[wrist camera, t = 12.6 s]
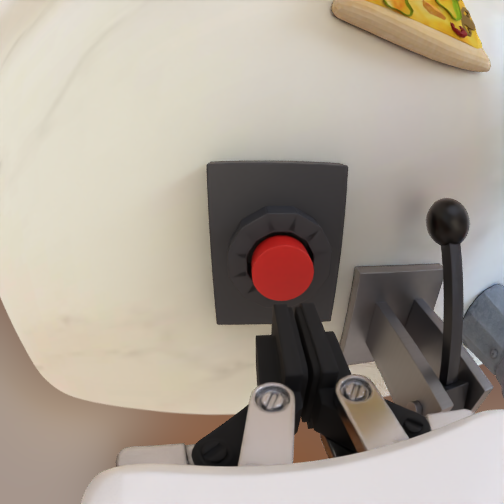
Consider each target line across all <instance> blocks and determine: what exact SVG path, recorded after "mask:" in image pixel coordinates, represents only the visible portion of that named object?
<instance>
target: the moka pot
mask: <svg viewBox="0 0 504 504" xmlns="http://www.w3.org/2000/svg"><path fill="white" fill-rule="evenodd" d="M462 341H463V343H464V344H465V346H466V347H467V348H468V349H469V350H470V351H471V352H473V353H474V354H475V356H476V357H477V358H478V359H479V360H480V361H481V362H482V363H483V364H484V365H485V366H486V367H487V368H488V369H489V370H490V371H491V372H492V373H493V374H494V375H496V378H497V380H498V382H499V383H500V385H501V386H502V394H503V397H504V286H503V285H500V284H497V285H494V286H492V287H490V288H488V289H486V290H485V291H484V292H483V293H482V294H481V295H479V297H478V298H477V299H476V300H475V301H474V302H473V304H472V305H471V306H470V308H469V309H468V311H467V313H466V315H465V317H464V320H463V331H462Z"/></svg>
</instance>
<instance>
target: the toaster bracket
mask: <svg viewBox="0 0 504 504" xmlns="http://www.w3.org/2000/svg"><path fill="white" fill-rule="evenodd" d="M442 281H443V266H442V265H440V264H419V265H395V266H367V267H355V272H354V278H353V284H352V290H351V295H350V301H349V306H348V311H347V316H346V320H345V325H344V330H343V334H342V339H341V343H340V348H341V350H342V352H343V355H344V357H345V360H346V362H347V365H352V364H360V363H367V362H373V361H375V363H376V365H377V367H378V369H379V371H380V373H381V375H382V378H383V380H384V382H385V384H386V386H387V388H388V390H389V393H390V395H391V397H392V399H393V401H394V403H395V404H397V405H400V406H402V407H404V408H407V409H409V410H412V411H414V412H416V413H419V414H421V415H422V416H424V417H425V416H426V415H427V414H431V413H440V412H447V411H450V410H451V409H452V407H453V406H454V404H453V403H452V401H451V399H450V398H449V396H448V394H447V392H446V391H445V389H444V387H443V386H442V384H441V383H440V381H439V379H438V378H439V374H440V366H441V355H442V343H443V321H442V320H441V319H440V318H439V317H438V316H437V314H436V313H435V312H434V311H433V310H434V307H435V304H436V301H437V298H438V294H439V291H440V288H441V285H442ZM458 379H461V380H463V381H466V382H468V383H469V384H468V390H467V395H466V400H465V405H464V409H468V410H471V411H472V412H473V413H475V412H476V410H477V409H478V408H479V407H480V405H481V404H482V403H483V401H484V400H485V399H486V397H487V396H488V394H489V393H490V392H491V390H492V389H493V386H492V384H491V383H490V381H489V380H488V379H487V377H486V376H485V374H484V373H483V372H482V370H481V369H480V368H479V366H478V365H477V364H476V362H475V361H474V360H473V358H472V357H471V356H470V354H469V353H468V352H467V351H466V349H465V348H464V347H463V346H462V345H461V356H460V365H459V373H458Z"/></svg>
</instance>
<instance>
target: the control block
mask: <svg viewBox="0 0 504 504" xmlns="http://www.w3.org/2000/svg"><path fill="white" fill-rule="evenodd" d="M347 177H348V166H347V165H343V164H340V163H326V162H304V161H218V162H210V163H208V164H207V190H208V211H209V229H210V245H211V259H212V273H213V286H214V298H215V309H216V320H217V324H218V325H241V324H272V312H273V304H287V307H292V310H293V313H294V310H295V307H298V306H299V305H300V303H310V302H313V303H314V305H315V307H316V310H317V312H318V315H319V318H320V320H321V322H324V321H330V320H331V315H332V309H333V303H334V297H335V291H336V284H337V277H338V270H339V263H340V255H341V246H342V237H343V228H344V217H345V206H346V193H347ZM276 235H287V236H291V237H293V238H295V239H297V240H299V241H300V242H301V243H302V244H303V245H304V247H305V248H306V250H307V252H308V254H309V256H310V258H311V261H312V263H313V267H314V275H313V279H312V282H311V284H310V286H309V287H308V288H307V290H306V291H305V292H304V293H302V294H301V295H299V296H298V297H296V298H293V299H290V300H286V301H277V300H272V299H269V298H267V297H265V296H263V295H262V294H261V293H260V292H259V291H258V290H257V289H256V287H255V286H254V283H253V280H252V267H251V260H252V255H253V252H254V251H255V249H256V247H257V246H258V245H259V244H260V243H261V242H262V241H264V240H265V239H267V238H269V237H272V236H276Z"/></svg>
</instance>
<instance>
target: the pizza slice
mask: <svg viewBox="0 0 504 504" xmlns="http://www.w3.org/2000/svg"><path fill="white" fill-rule="evenodd" d="M331 8H332V12H333V13H334V15H335V16H336V17H337V18H340V19H342V20H344V21H346V22H348V23H350V24H353V25H355V26H357V27H359V28H361V29H364V30H366V31H368V32H370V33H372V34H374V35H377V36H379V37H381V38H383V39H386V40H388V41H390V42H392V43H394V44H397V45H399V46H401V47H404V48H406V49H408V50H411V51H413V52H415V53H418V54H420V55H422V56H425V57H427V58H430V59H432V60H435V61H438V62H441V63H444V64H447V65H451V66H455V67H458V68H462V69H466V70H470V71H476V72H487V71H489V70H490V67H491V65H490V60H489V58H488V56H487V54H486V53H485V51H484V50H483V48H482V43H481V41H480V39H479V37H478V35H477V33H476V28H475V25H474V23H473V21H472V19H471V16H470V14H469V11H468V10H467V9H466V7H465V5H464V3H463V1H462V0H334V2H333V4H332V7H331Z"/></svg>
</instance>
